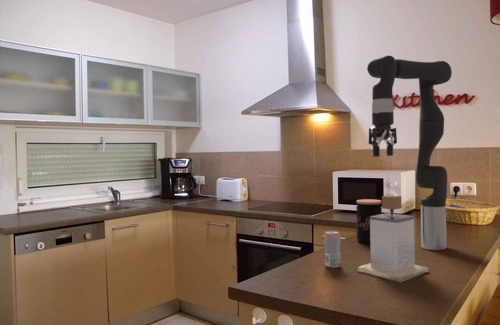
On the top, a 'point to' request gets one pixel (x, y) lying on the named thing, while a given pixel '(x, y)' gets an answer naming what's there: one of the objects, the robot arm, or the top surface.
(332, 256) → the energy drink
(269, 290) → the top surface
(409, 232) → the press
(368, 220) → the coffee jar
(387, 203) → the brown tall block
